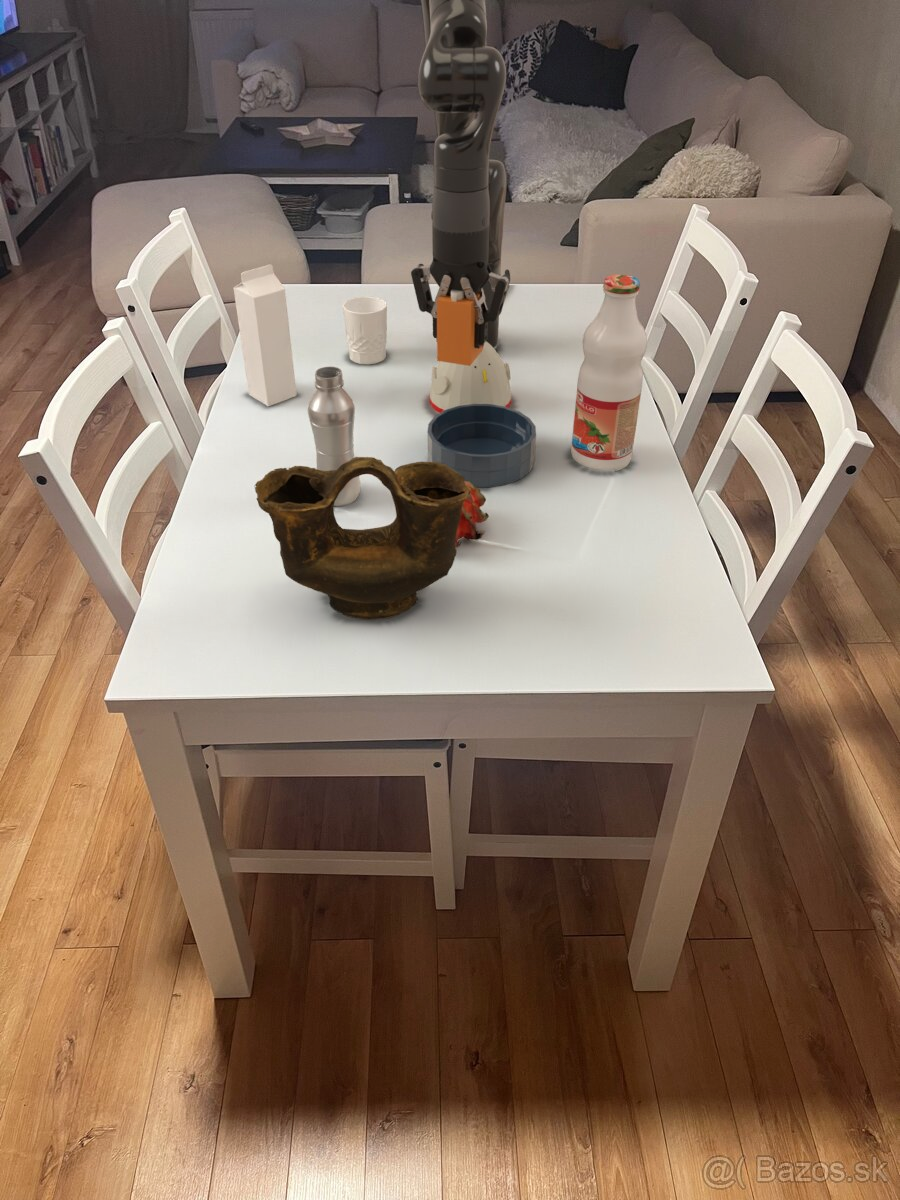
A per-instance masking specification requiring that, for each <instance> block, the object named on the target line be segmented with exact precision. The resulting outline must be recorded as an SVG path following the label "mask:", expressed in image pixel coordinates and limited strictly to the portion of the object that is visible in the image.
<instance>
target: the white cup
mask: <svg viewBox="0 0 900 1200" xmlns="http://www.w3.org/2000/svg"><path fill="white" fill-rule="evenodd" d="M342 310H343V319H344V327H345V335H346V341H347V342H346V343H347V346H348V353H349V359H350V360H351V361H352V362H353V363H355V364H359V365H376V364H379V363H381V362H382V361H384V360H385V359H386V357H387V352H386V351H387V337H388V333H387V331H388V303H387V302H386V300H384V299H382V298H381V297H375V296H357V297H353V298H349V299H347V300H346V301H344V302H343V303H342Z"/></svg>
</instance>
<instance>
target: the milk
mask: <svg viewBox="0 0 900 1200" xmlns="http://www.w3.org/2000/svg"><path fill="white" fill-rule="evenodd" d="M240 278H241V282H240V283H239V284H236V285H235V286H233V293H234V302H235V309H236V316H237V322H238V329H239V336H240V343H241V349H242V357H243V363H244V370H245V378H246V384H247V391H248V395H249V396H250V397H251V398H254V399H255V400H256V401H258V402H260V403H261V404H263V405H264V406H267V407H271V406H273V405H276V404H279V403H282V402H284V401H287V400H290V399H292V398H295V397H296V396H298V395H297V386H296V376H295V366H294V359H293V350H292V340H291V339H292V338H291V332H290V330H291V329H290V322H289V311H288V304H287V295H286V288H285V286H284V285H283V284H282V283H281V281H280V280H279V278H278V277H277V276H276V274H275V273H274V266H273V264H271V263H269V264H267V265H263V266H258V267H256V268H253V269H249V270H245V271H243V272H241V273H240Z"/></svg>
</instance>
